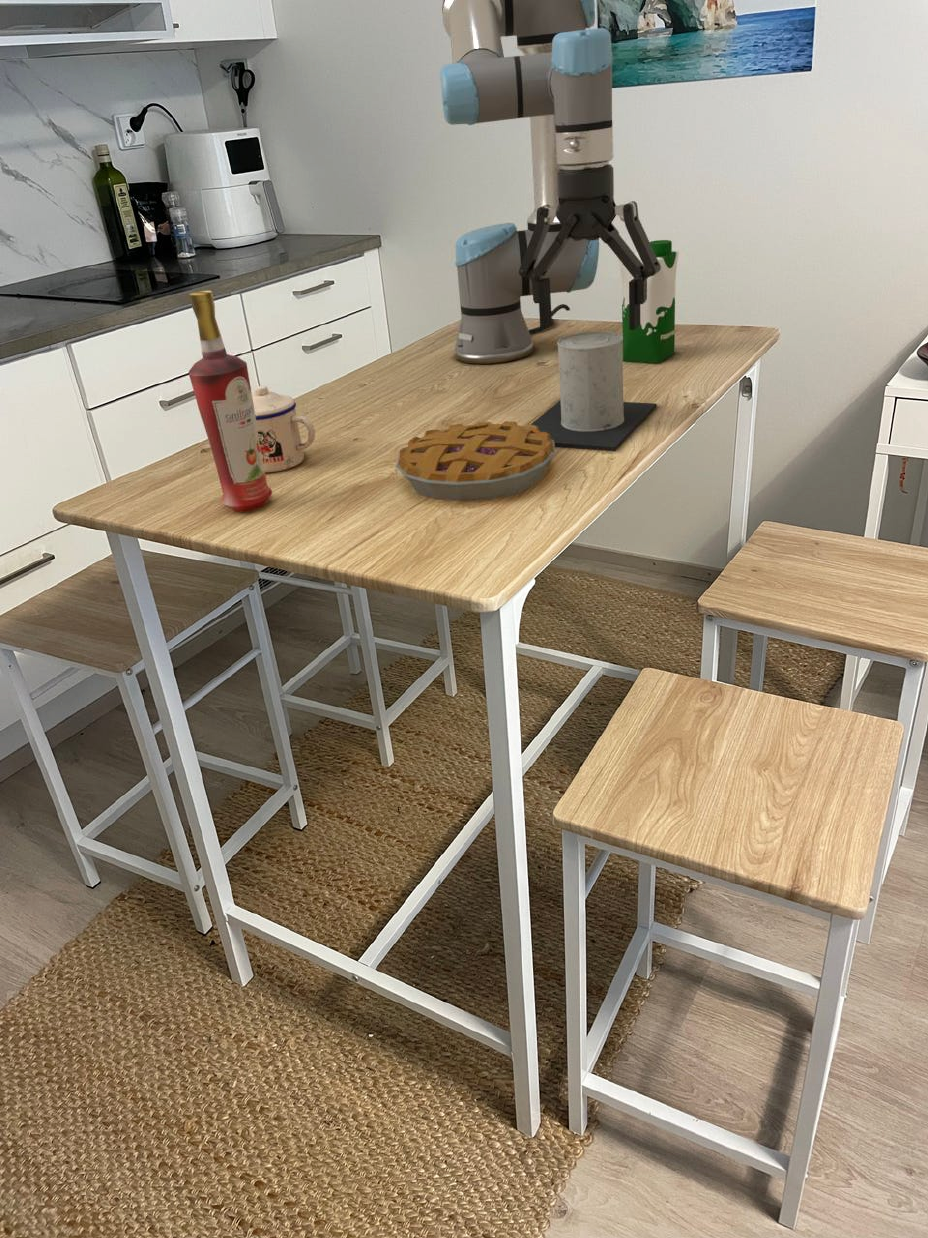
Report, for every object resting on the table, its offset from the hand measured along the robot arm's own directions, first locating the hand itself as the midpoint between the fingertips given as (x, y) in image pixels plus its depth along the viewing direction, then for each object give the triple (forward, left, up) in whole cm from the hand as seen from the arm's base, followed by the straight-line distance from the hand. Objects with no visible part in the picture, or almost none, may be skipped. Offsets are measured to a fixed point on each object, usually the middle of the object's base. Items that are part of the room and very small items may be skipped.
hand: (589, 326), depth 136 cm
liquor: (+40, -35, -15) cm, 55 cm away
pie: (+23, -8, -15) cm, 29 cm away
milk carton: (-38, -3, -15) cm, 41 cm away
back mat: (0, -1, -15) cm, 15 cm away
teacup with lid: (+25, -40, -15) cm, 49 cm away
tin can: (0, 0, -14) cm, 14 cm away
